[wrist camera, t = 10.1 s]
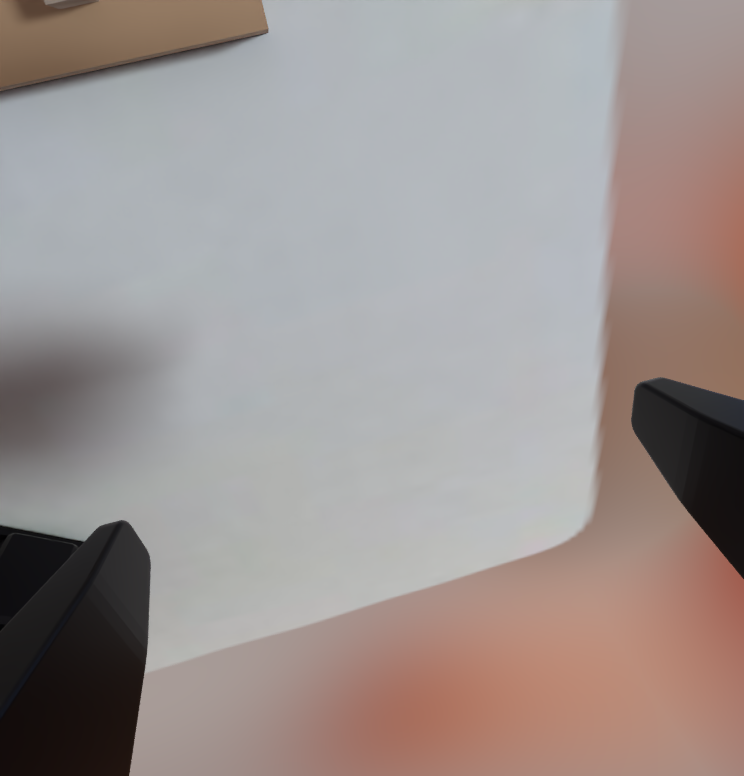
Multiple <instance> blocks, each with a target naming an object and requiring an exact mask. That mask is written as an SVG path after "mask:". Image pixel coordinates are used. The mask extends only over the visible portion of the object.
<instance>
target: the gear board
mask: <svg viewBox="0 0 744 776" xmlns="http://www.w3.org/2000/svg"><path fill="white" fill-rule="evenodd" d="M264 33H268V25H267V21H266V17H265V13H264V9H263V5H262V1H261V0H0V91H3V90H8V89H12V88H17V87H21V86H26V85H31V84H35V83H40V82H44V81H49V80H53V79H58V78H63V77H67V76H72V75H76V74H81V73H85V72H90V71H95V70H99V69H104V68H108V67H113V66H118V65H122V64H127V63H131V62H136V61H140V60H145V59H150V58H154V57H159V56H163V55H168V54H172V53H177V52H182V51H186V50H191V49H195V48H200V47H204V46H209V45H214V44H218V43H223V42H227V41H232V40H237V39H241V38H246V37H250V36H255V35H259V34H264Z"/></svg>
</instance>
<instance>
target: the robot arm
mask: <svg viewBox="0 0 744 776" xmlns="http://www.w3.org/2000/svg"><path fill="white" fill-rule="evenodd" d="M631 422H632V427H633V430H634V432H635V434H636V436H637V437H638V439H639V440H640V442H641V443H642V445H643V446H644V448H645V449H646V451H647V452H648V454H649V455H650V457H651V458H652V460H653V461H654V463H655V465H656V466H657V468H658V469H659V470H660V472H661V474H662V475H663V477H664V478H665V480H666V481H667V483H668V484H669V486H670V487H671V489H672V490H673V492H674V493H675V495H676V496H677V498H678V499H679V500H680V501H681V503H682V504H683V505H684V507H685V508H686V509H687V511H688V512H689V513H690V514H691V516H692V517H693V518H694V519H695V521H696V522H697V523H698V524H699V526H700V527H701V528H702V529H703V530H704V532H705V533H706V534H707V535H708V536H709V538H710V539H711V540H712V541H713V542H714V544H715V545H716V546H717V547H718V549H719V550H720V551H721V552H722V554H723V555H724V556H725V557H726V558H727V560H728V561H729V562H730V563H731V564H732V565H733V567H734V568H735V569H736V571H737V572H738V573H739V574H740V575H741V577H742V578H743V579H744V400H740V399H737V398H733V397H730V396H726V395H723V394H719V393H715V392H712V391H709V390H705V389H701V388H698V387H695V386H691V385H687V384H684V383H681V382H677V381H674V380H670V379H666V378H661V377H660V378H655V379H651V380H647V381H643V382H640V383H639V384H637V386H636V388H635V391H634V401H633V408H632V418H631ZM150 569H151V562H150V556H149V553H148V551H147V549H146V547H145V546H144V544H143V543H142V541H141V540H140V538H139V537H138V535H137V534H136V532H135V531H134V529H133V528H132V526H131V525H130V524H129V523H128V522H127V521H124V520H120V521H116V522H112V523H109V524H105V525H102V526H100V527H98V528H97V529H96V530H95V531H94V532H93V533H92V534H91V535H90V536H89V537H88V539H87V540H86V541H85V542H84V543H82V542H77V541H72V540H67V539H62V538H57V537H51V536H46V535H41V534H36V533H31V532H25V531H20V530H15V529H10V528H5V527H0V776H129V773H130V765H131V759H132V753H133V746H134V739H135V732H136V726H137V719H138V711H139V705H140V698H141V691H142V685H143V678H144V672H145V665H146V657H147V646H148V626H149V598H150Z"/></svg>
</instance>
